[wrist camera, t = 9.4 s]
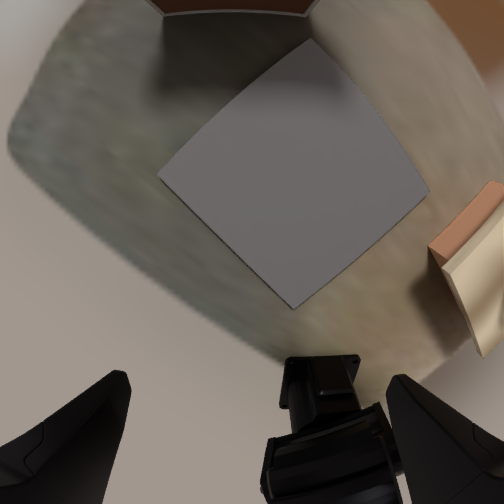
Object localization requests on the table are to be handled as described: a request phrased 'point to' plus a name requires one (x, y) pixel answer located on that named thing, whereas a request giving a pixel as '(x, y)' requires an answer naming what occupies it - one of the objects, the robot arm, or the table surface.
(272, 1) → the food container
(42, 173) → the table surface
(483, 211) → the open box
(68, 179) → the table surface
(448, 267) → the lid
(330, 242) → the mat
